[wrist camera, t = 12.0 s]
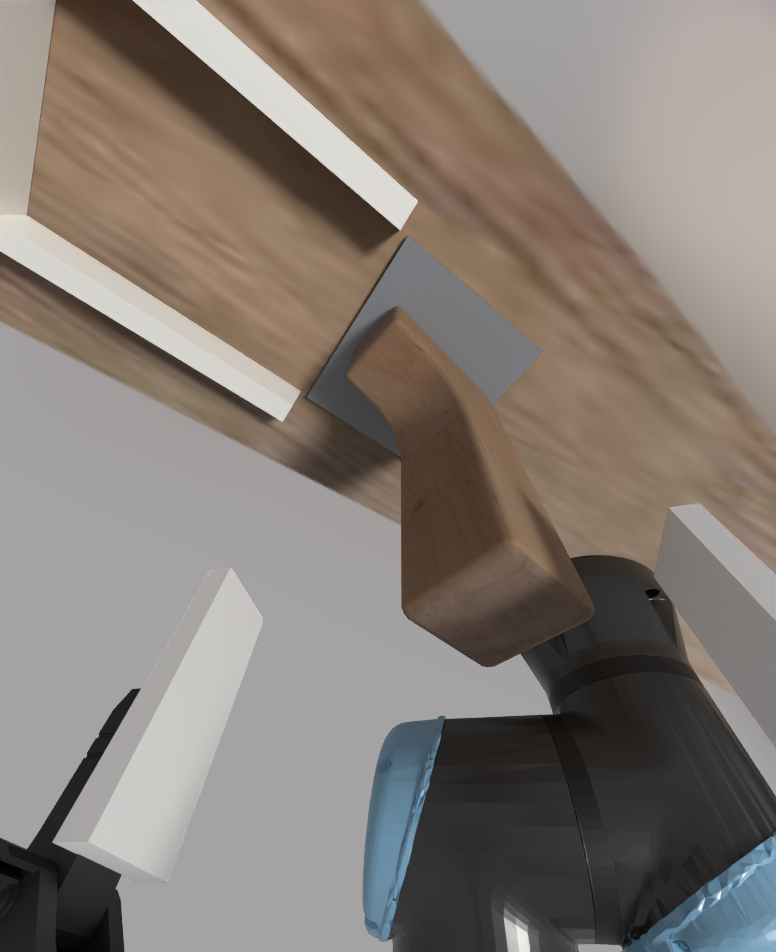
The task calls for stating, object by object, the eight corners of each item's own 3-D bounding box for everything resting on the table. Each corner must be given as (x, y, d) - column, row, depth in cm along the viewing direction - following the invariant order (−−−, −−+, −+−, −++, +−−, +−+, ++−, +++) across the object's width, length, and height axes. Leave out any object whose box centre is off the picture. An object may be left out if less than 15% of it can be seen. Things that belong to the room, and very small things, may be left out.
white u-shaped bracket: (416, 203, 21) (418, 200, 18) (291, 407, 28) (278, 428, 25) (30, -145, 15) (-58, -232, 12) (-5, 222, 22) (-67, 222, 19)
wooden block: (350, 354, 25) (275, 542, 10) (397, 301, 23) (391, 434, 8) (441, 438, 29) (487, 675, 13) (489, 397, 27) (605, 619, 12)
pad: (541, 349, 25) (543, 351, 25) (426, 471, 31) (427, 474, 30) (408, 235, 22) (408, 235, 22) (307, 395, 27) (306, 397, 27)
